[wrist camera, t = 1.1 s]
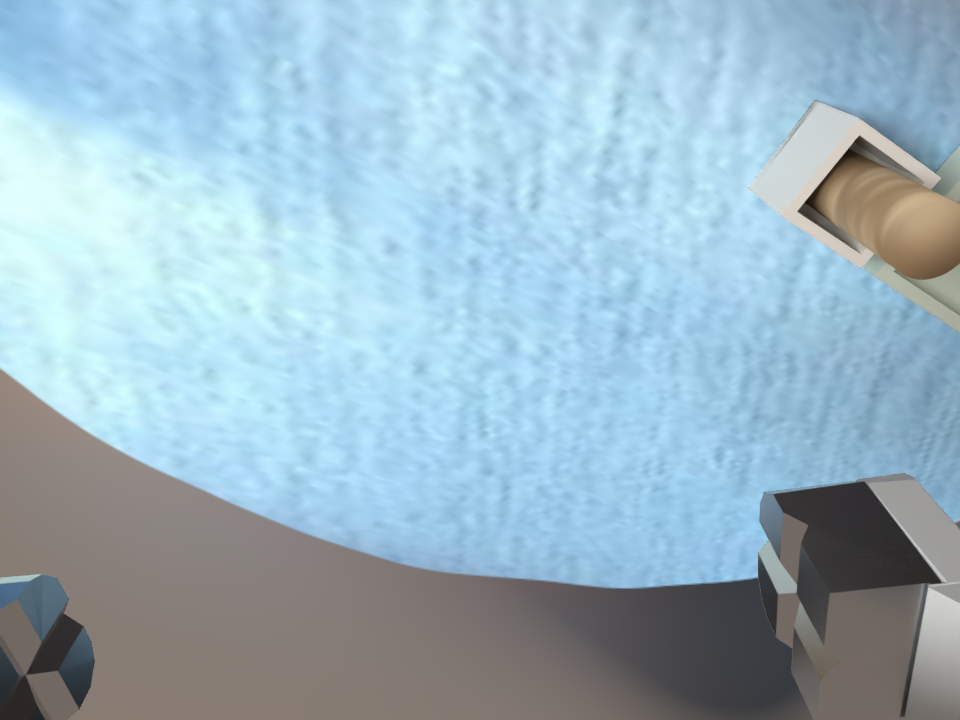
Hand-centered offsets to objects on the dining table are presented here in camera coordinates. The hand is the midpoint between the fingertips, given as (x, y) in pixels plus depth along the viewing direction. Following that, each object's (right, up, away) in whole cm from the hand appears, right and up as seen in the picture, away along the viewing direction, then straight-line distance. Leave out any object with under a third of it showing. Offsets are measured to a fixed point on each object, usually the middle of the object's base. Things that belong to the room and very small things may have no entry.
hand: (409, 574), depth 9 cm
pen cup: (+21, +14, +36) cm, 43 cm away
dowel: (+21, +13, +35) cm, 43 cm away
